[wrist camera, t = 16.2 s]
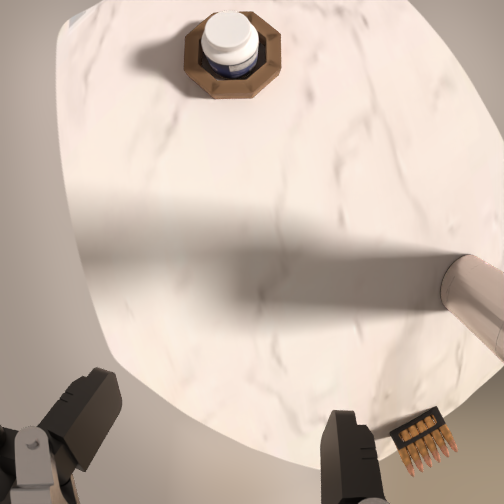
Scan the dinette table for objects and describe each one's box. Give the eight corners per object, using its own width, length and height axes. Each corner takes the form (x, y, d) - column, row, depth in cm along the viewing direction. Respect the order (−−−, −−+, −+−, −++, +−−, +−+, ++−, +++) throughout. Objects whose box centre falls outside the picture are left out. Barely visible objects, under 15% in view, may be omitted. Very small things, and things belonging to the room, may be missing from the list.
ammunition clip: (391, 436, 48) (409, 480, 37) (389, 432, 48) (408, 477, 36) (437, 410, 47) (461, 451, 35) (436, 405, 46) (461, 447, 35)
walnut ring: (277, 22, 28) (280, 12, 26) (279, 98, 31) (281, 93, 29) (191, 24, 28) (186, 14, 26) (188, 100, 31) (183, 95, 29)
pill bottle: (202, 53, 30) (185, 20, 20) (243, 33, 29) (241, -5, 20) (223, 88, 31) (213, 64, 22) (265, 68, 30) (270, 38, 21)
